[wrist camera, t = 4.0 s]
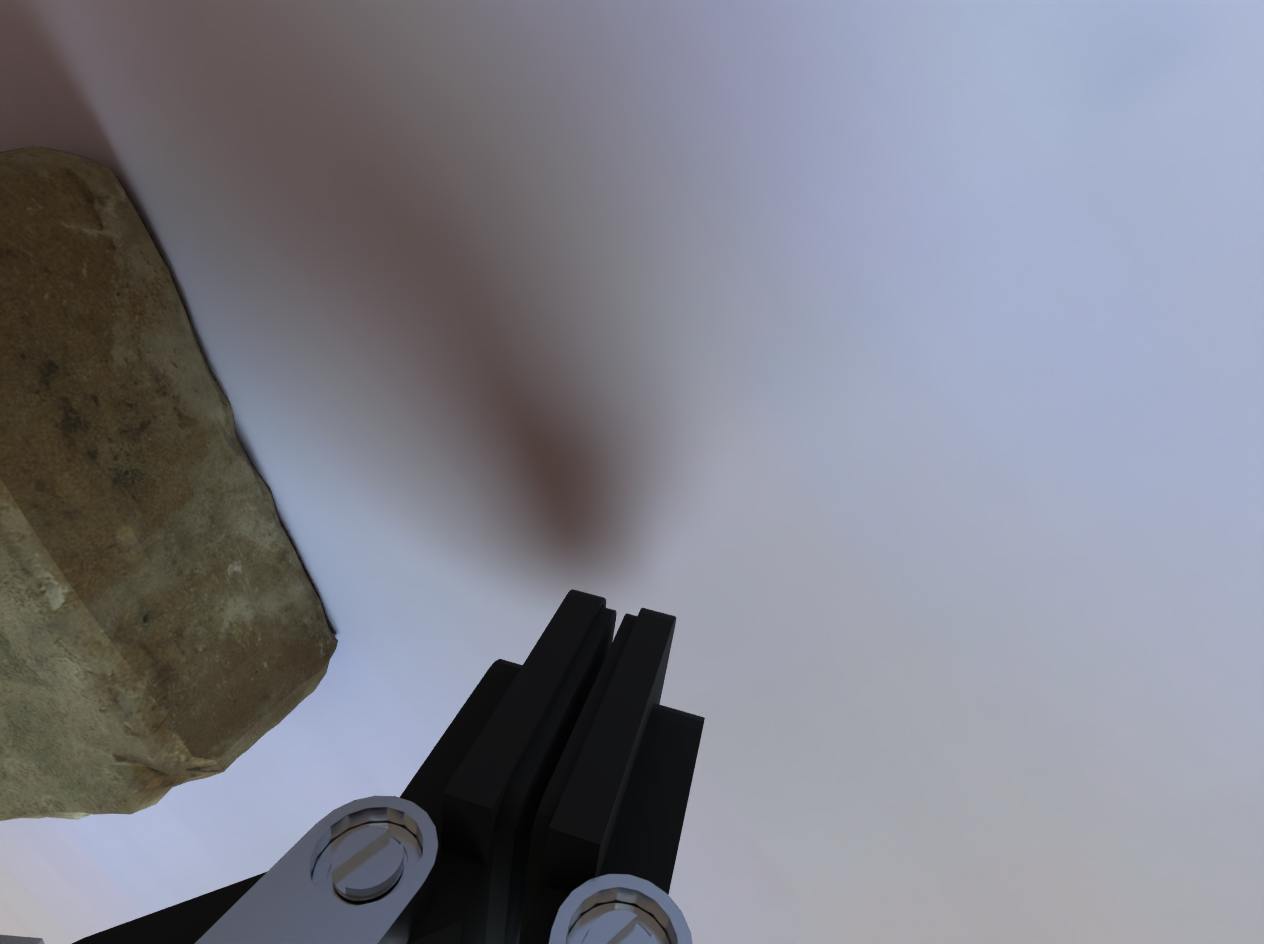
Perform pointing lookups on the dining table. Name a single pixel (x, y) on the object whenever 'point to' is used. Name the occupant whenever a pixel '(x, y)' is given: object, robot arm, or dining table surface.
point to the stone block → (125, 520)
